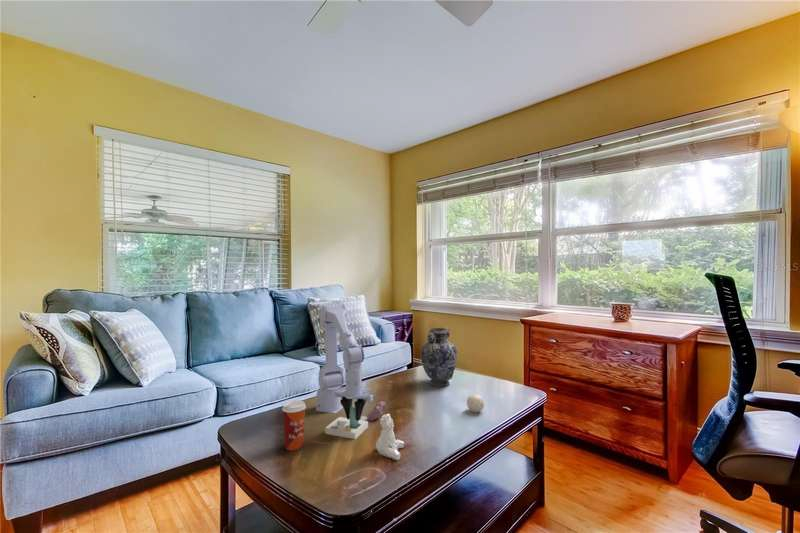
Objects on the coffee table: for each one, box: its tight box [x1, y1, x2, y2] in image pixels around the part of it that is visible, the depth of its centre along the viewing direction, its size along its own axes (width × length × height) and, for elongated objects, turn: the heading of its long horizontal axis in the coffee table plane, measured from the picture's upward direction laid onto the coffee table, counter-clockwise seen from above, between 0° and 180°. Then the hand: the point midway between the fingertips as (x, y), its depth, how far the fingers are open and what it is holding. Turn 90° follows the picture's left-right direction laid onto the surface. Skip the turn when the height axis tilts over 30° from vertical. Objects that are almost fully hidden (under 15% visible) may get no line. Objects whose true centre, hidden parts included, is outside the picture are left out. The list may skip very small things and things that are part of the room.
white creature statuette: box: [375, 413, 405, 461], centre depth 112 cm, size 10×9×12 cm
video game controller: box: [366, 400, 387, 421], centre depth 139 cm, size 10×5×7 cm, turn 168°
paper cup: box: [281, 399, 307, 451], centre depth 116 cm, size 8×8×14 cm
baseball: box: [466, 394, 485, 413], centre depth 143 cm, size 7×7×7 cm
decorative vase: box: [420, 327, 458, 388], centre depth 180 cm, size 21×19×28 cm
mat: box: [360, 415, 368, 421], centre depth 136 cm, size 7×7×1 cm
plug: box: [349, 405, 359, 429], centre depth 126 cm, size 3×3×7 cm
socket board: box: [324, 416, 369, 440], centre depth 127 cm, size 12×10×3 cm
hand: (353, 418), depth 126 cm, fingers closed on plug, 3 cm apart
